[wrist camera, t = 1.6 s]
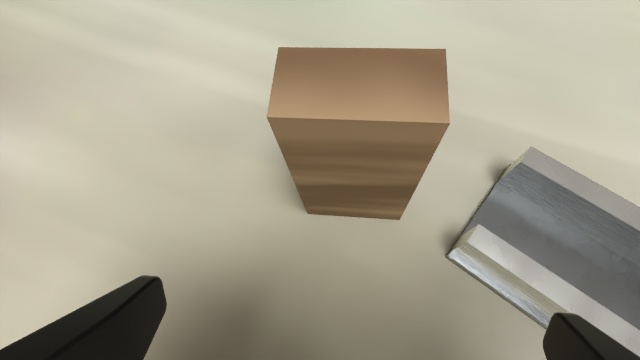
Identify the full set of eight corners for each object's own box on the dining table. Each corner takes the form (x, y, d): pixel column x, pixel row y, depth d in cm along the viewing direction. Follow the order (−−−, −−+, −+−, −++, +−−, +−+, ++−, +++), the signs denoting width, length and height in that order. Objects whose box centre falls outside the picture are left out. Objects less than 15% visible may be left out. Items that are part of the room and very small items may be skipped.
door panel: (399, 219, 22) (449, 123, 11) (307, 213, 23) (266, 116, 12) (399, 176, 23) (445, 49, 12) (312, 172, 24) (278, 47, 13)
